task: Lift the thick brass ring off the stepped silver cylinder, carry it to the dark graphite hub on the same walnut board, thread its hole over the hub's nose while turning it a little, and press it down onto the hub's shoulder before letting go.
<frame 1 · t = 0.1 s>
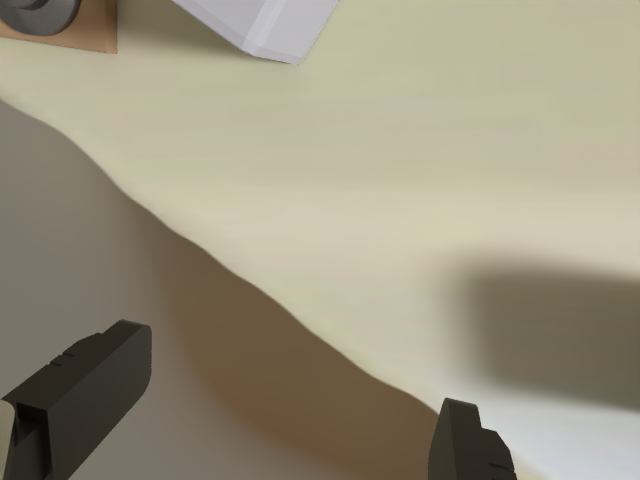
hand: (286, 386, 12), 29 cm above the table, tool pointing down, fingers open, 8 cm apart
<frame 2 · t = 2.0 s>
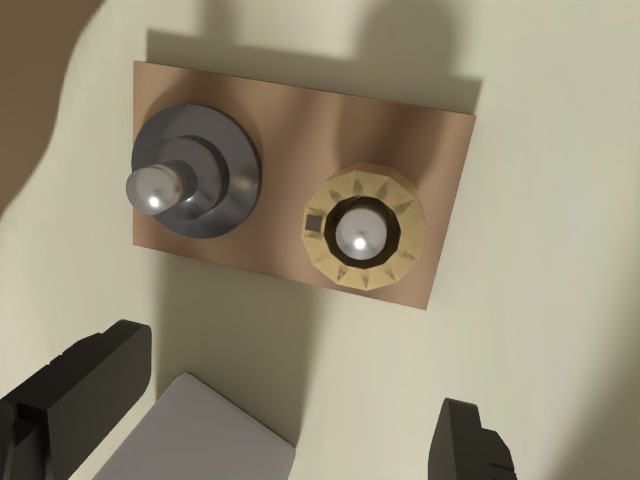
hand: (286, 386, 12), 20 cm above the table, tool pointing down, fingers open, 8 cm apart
brass ring: (367, 218, 26), point 4 cm above the table, touching stepped silver cylinder
graphite hub: (199, 172, 31), resting on walnut board
walnut board: (289, 184, 31), on the table
soap bottle: (225, 428, 40), on the table
stepped silver cylinder: (371, 205, 29), resting on walnut board
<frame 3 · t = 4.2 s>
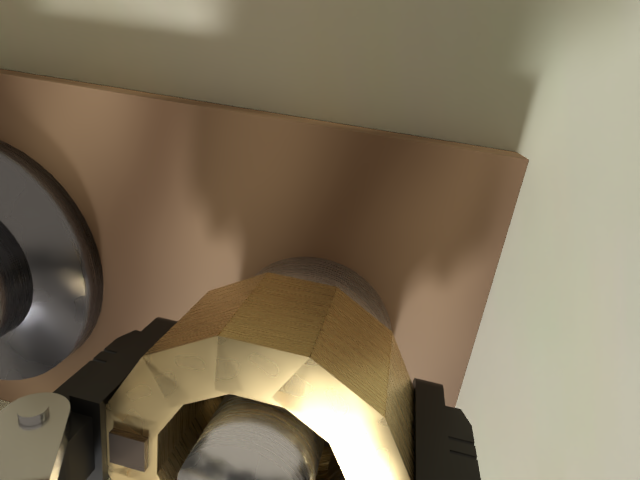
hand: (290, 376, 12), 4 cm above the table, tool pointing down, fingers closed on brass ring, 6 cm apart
brass ring: (287, 388, 12), point 4 cm above the table, touching gripper, stepped silver cylinder
walnut board: (165, 275, 17), on the table
stepped silver cylinder: (311, 331, 15), resting on walnut board
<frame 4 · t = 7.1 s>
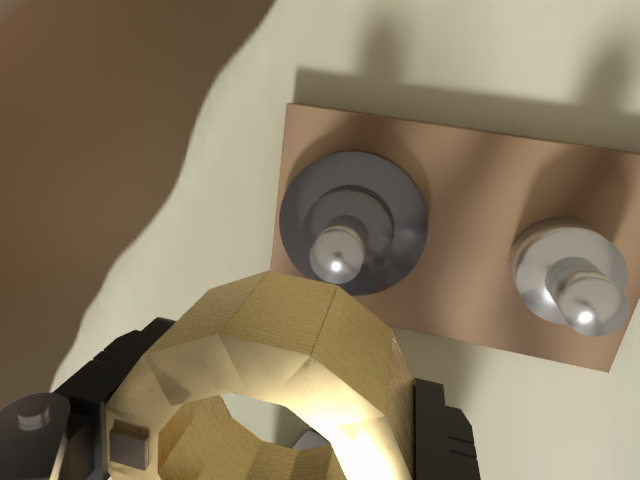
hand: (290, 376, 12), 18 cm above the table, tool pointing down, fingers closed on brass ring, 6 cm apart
brass ring: (287, 387, 12), point 19 cm above the table, touching gripper
graphite hub: (353, 222, 28), resting on walnut board
walnut board: (449, 233, 28), on the table
stepped silver cylinder: (555, 260, 26), resting on walnut board
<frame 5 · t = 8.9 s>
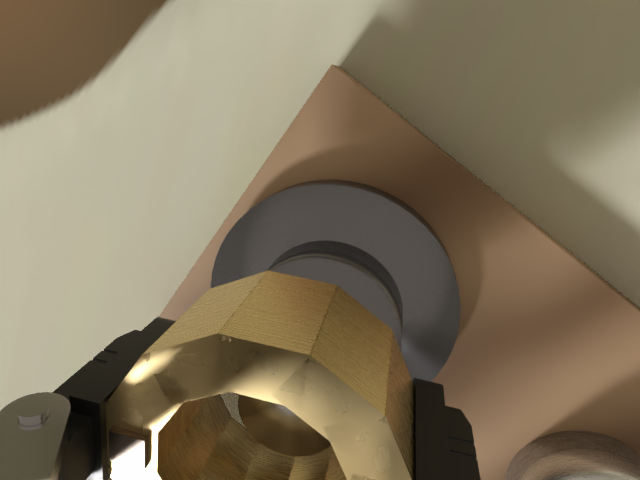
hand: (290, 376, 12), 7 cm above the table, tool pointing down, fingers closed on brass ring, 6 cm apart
brass ring: (287, 386, 12), point 7 cm above the table, touching gripper
graphite hub: (333, 297, 17), resting on walnut board
walnut board: (453, 370, 19), on the table
when the fingers open (4 cm above the table, at t = 10.2 s): brass ring stays where it is, resting on graphite hub.
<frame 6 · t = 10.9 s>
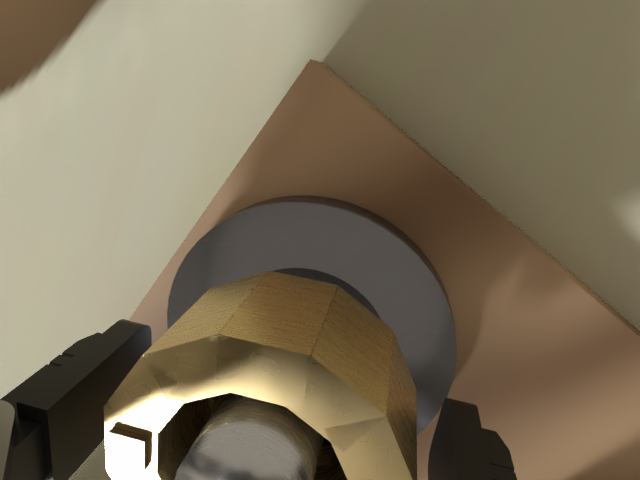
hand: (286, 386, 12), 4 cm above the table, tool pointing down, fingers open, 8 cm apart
brass ring: (287, 387, 12), point 4 cm above the table, touching graphite hub
graphite hub: (310, 330, 15), resting on walnut board
walnut board: (446, 412, 16), on the table
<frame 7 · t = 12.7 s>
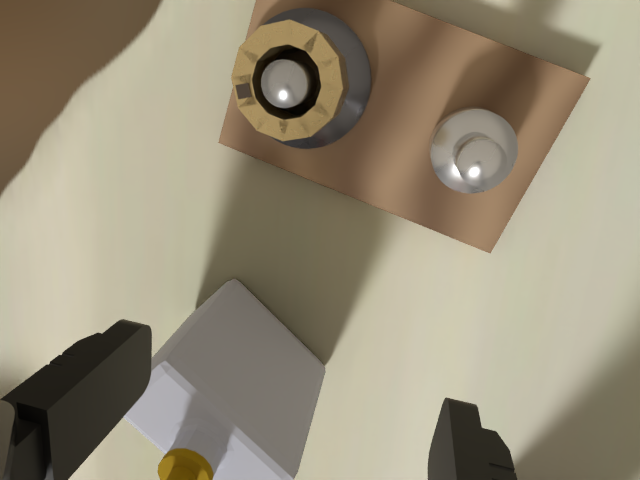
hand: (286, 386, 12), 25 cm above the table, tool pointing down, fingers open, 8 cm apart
brass ring: (297, 82, 29), point 4 cm above the table, touching graphite hub
graphite hub: (307, 81, 31), resting on walnut board
walnut board: (387, 111, 32), on the table
soap bottle: (260, 338, 42), on the table
stepped silver cylinder: (467, 145, 31), resting on walnut board
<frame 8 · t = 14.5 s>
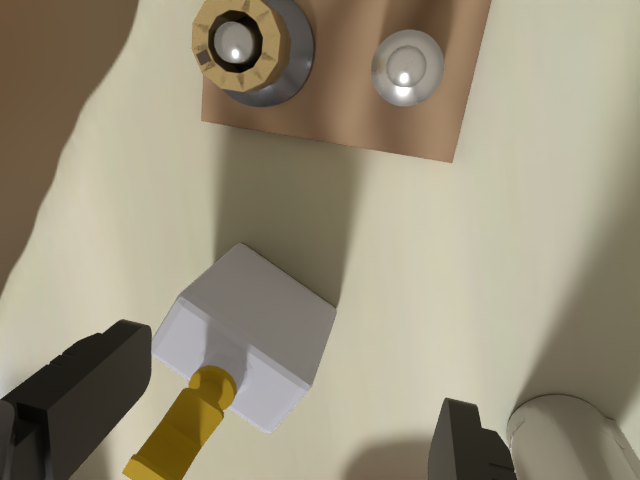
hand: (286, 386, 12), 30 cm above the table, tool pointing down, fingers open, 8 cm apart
brass ring: (249, 45, 34), point 4 cm above the table, touching graphite hub
graphite hub: (261, 49, 37), resting on walnut board
walnut board: (335, 60, 37), on the table
soap bottle: (274, 296, 46), on the table
stepped silver cylinder: (407, 70, 35), resting on walnut board
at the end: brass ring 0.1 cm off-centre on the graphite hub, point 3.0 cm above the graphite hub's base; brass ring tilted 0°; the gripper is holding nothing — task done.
